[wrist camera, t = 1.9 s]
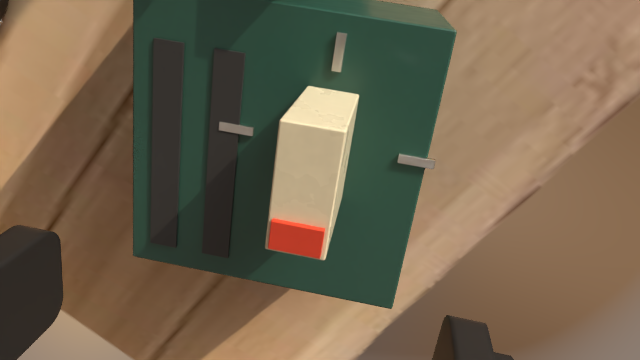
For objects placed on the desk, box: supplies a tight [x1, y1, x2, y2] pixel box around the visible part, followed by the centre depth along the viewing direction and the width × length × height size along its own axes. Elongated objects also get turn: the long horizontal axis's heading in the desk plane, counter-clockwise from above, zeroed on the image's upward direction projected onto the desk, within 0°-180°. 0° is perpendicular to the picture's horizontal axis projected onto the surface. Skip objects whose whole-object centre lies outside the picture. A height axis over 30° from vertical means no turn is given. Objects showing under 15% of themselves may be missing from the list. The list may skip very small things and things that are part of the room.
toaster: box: [133, 0, 457, 309], centre depth 26 cm, size 12×12×11 cm
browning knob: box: [265, 86, 359, 260], centre depth 18 cm, size 4×2×5 cm, turn 172°
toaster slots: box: [150, 38, 246, 258], centre depth 22 cm, size 9×4×1 cm, turn 172°
